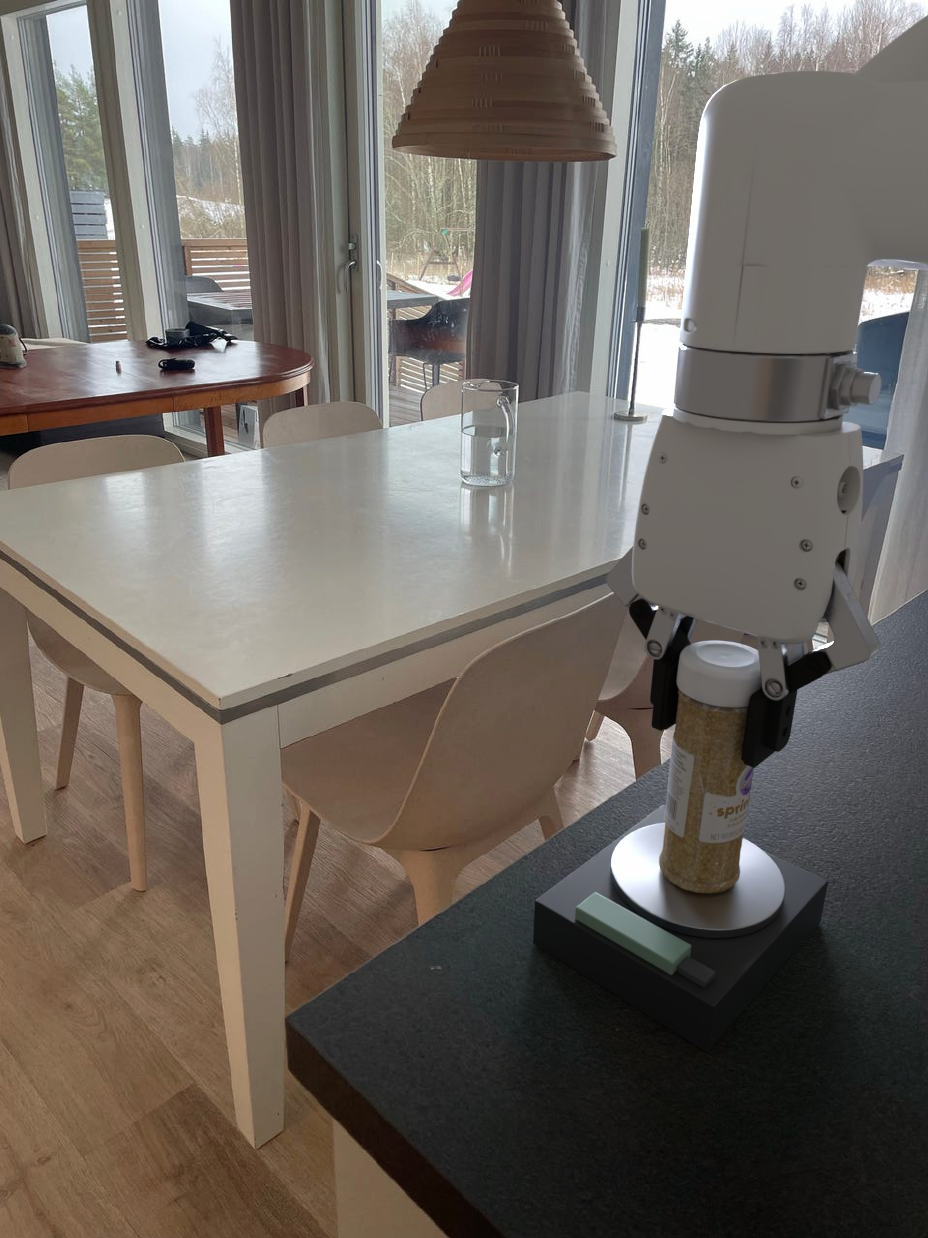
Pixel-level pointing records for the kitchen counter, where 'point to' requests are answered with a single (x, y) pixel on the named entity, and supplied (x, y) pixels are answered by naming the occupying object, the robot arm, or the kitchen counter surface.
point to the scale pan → (690, 911)
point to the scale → (671, 947)
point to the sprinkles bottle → (709, 767)
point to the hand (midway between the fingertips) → (715, 735)
